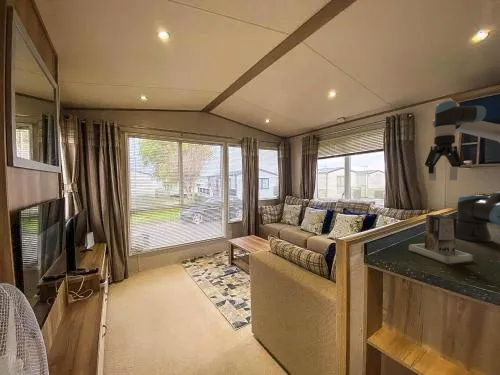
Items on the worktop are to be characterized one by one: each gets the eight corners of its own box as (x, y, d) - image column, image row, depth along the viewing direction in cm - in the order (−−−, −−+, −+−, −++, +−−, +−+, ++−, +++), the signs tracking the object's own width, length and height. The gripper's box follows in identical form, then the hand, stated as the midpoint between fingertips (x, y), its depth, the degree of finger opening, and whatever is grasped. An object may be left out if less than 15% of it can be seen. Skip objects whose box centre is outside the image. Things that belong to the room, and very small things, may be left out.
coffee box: (455, 258, 90) (458, 218, 89) (437, 257, 91) (439, 217, 90) (439, 251, 99) (442, 214, 98) (423, 250, 100) (425, 213, 99)
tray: (431, 248, 104) (431, 242, 104) (472, 261, 88) (473, 255, 88) (408, 250, 101) (408, 244, 101) (447, 264, 85) (447, 257, 85)
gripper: (454, 137, 114) (452, 179, 115) (416, 136, 108) (415, 180, 109) (472, 135, 107) (470, 180, 108) (433, 133, 100) (431, 180, 102)
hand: (442, 180), depth 108 cm, fingers open, 13 cm apart
